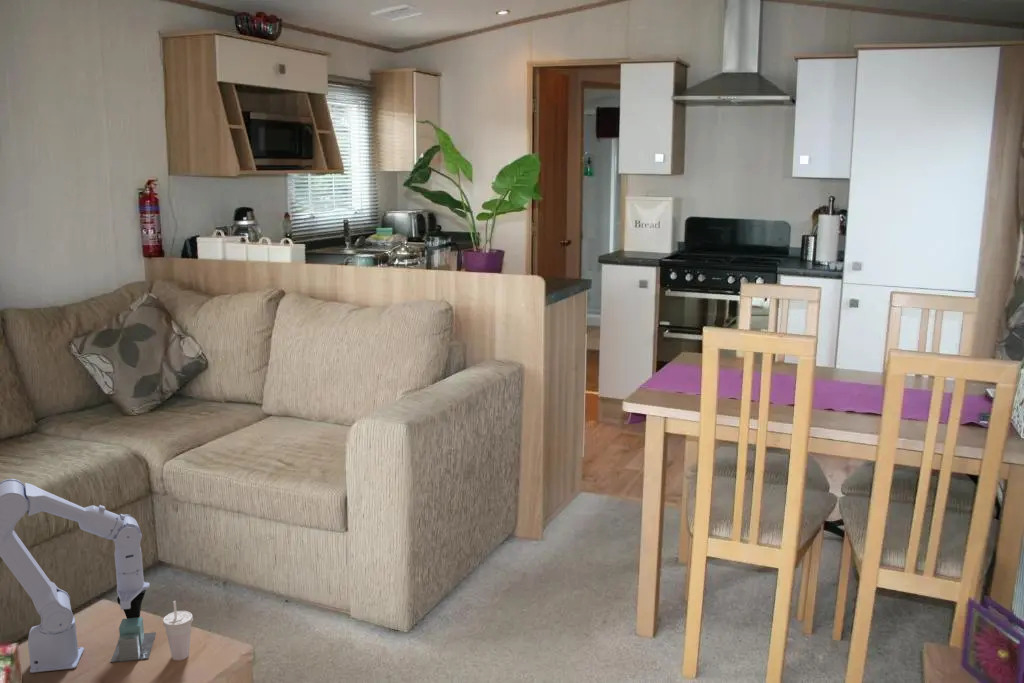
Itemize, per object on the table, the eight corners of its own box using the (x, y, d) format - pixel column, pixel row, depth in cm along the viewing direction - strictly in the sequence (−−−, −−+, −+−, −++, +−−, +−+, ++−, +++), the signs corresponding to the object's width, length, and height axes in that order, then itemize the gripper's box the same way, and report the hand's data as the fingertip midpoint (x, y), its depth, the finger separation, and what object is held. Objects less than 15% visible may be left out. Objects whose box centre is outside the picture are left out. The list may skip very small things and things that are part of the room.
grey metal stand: (110, 663, 201) (108, 641, 200) (120, 636, 212) (118, 615, 210) (148, 659, 203) (146, 637, 202) (156, 633, 213) (154, 612, 212)
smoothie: (159, 658, 203) (155, 603, 200) (181, 645, 208) (177, 590, 205) (179, 666, 200) (175, 610, 197) (201, 652, 206) (197, 597, 202)
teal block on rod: (120, 647, 204) (118, 628, 202) (124, 638, 207) (122, 618, 206) (141, 645, 204) (139, 626, 203) (144, 636, 208) (142, 617, 207)
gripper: (142, 581, 199) (146, 636, 202) (153, 553, 213) (157, 604, 216) (108, 584, 197) (113, 639, 200) (121, 555, 211) (126, 607, 214)
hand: (133, 621), depth 208 cm, fingers closed
